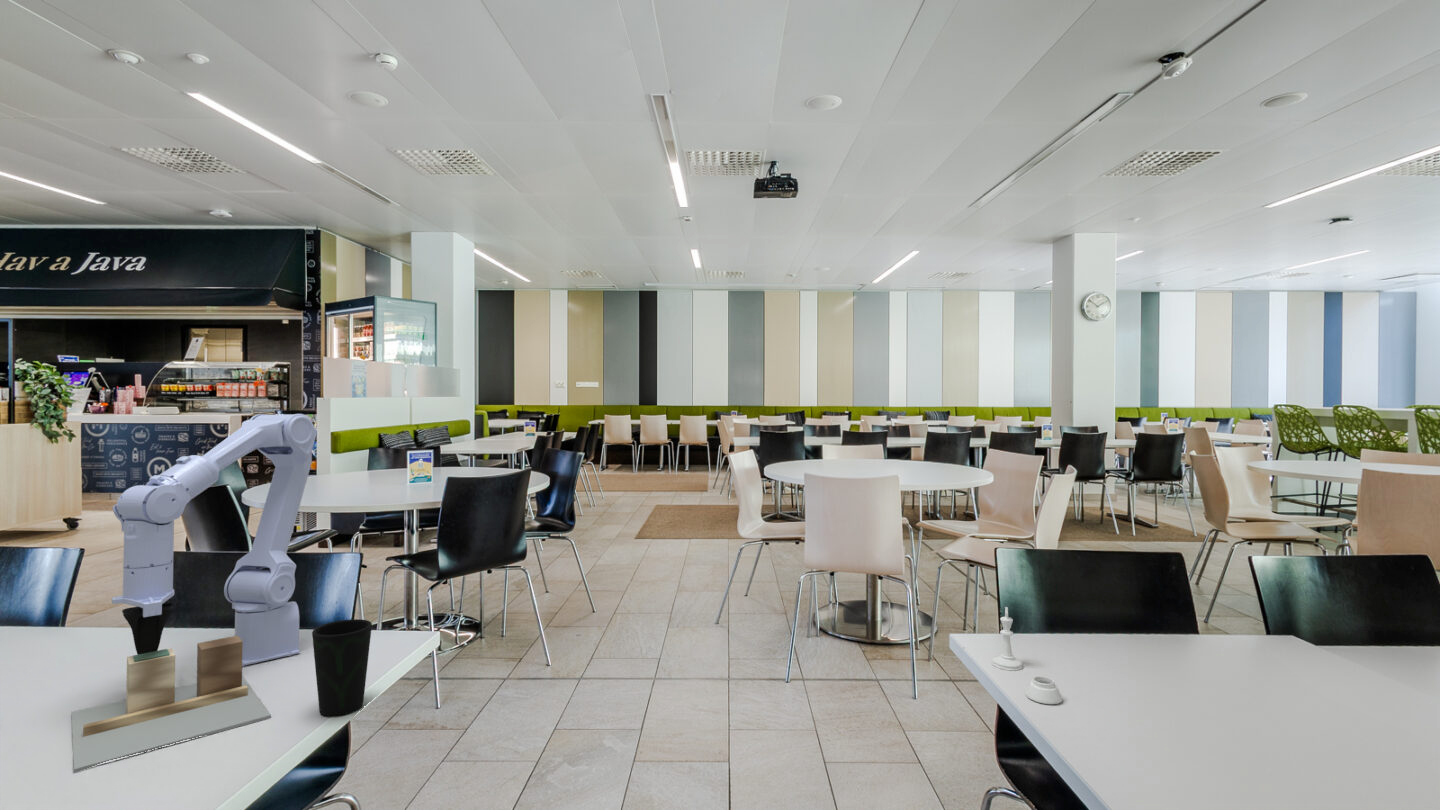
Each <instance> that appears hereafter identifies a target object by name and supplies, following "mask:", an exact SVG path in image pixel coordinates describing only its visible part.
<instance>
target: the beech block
mask: <svg viewBox="0 0 1440 810" xmlns="http://www.w3.org/2000/svg"><path fill="white" fill-rule="evenodd" d="M125 687H126V689H125V691H126V693H125V694H126V695H125V696H126V697H125V699H126V714H130V713H134V712H138V711H142V710H146V709H151V708H155V707H159V706H163V705H167V704H171V703H175V688H176V653H175V652H174V649H173V648H165V649H164V648H163V649H159V650H157V651H154V652H148V653H143V654H133V655H132V656H127V657H126V686H125Z"/></svg>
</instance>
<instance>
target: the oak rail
mask: <svg viewBox="0 0 1440 810" xmlns="http://www.w3.org/2000/svg"><path fill="white" fill-rule="evenodd" d="M247 695H248V687H247V686H246V685H245V686H241V687H237V688H233V689H229V690H225V691H221V692H216V693H212V694H208V695H204V696H200V697H196V698H192V699H188V700H184V701H179V702H175V703H171V704H167V705H163V706H159V707H155V708H151V709H146V710H142V711H138V712H134V713H130V714H126V715H122V716H118V717H114V718H109V719H105V720H101V721H97V722H93V723H89V724H85V725H83V737H85V736H89V735H93V734H97V733H101V732H105V731H109V730H113V729H117V728H120V727H124V726H128V725H132V724H136V723H140V722H144V721H148V720H152V719H156V718H160V717H164V716H168V715H172V714H176V713H180V712H184V711H188V710H192V709H196V708H200V707H204V706H208V705H212V704H215V703H219V702H223V701H227V700H231V699H235V698H239V697H243V696H247Z"/></svg>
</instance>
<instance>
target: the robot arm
mask: <svg viewBox="0 0 1440 810" xmlns="http://www.w3.org/2000/svg"><path fill="white" fill-rule="evenodd" d="M317 434H318V431H317V428H316V427H315V425H314V424H313V422H312V420H311V418H310V417H308V416H307V415H305V414H304V413H295V414H265V413H258V414H255V415H253V416H251V418H249V419H247V420H244V421H242V423H241V426H240V428H238V429H237V430H236V431H234V432H233V433H232V434H231V435H229V436H227V437H226V438H225V439H224V440H222V441H220V443H218V444H217V445H215V446H214V447H212V449H210V450H208V451H207V452H206V453H204V454H203V455H199V454H198V455H196V454H195V455H194V454H191V455H189V456H188V455H187V456H184V455H183V456H179V458H177V459H175V462H176V463H175V464H173V465H172V466H171V467H169V468H167V469H166V470H164V471H163V472H161V473H159V474H157V475H156V474H154V475H152V476H150V478H149V479H148V482H146V484H145V485H143V484H142V485H141V484H140V485H134V486H131V487H128V488H127V489H126V490H124V491H123V492H122V494H120V496H119V497H118V499H117V502H116V504H114V505H113V506H112V511H113V514H114V516H115V517H116V519H117V520H119V522H120V524H121V532H123V565H122V568H123V570H122V595H118V596H117V595H116V596H113V597H112V598H111V604H113V605H116V604H124V605H130V606H133V607H127V608H124V609H122V610H121V612H122V616H123V617H124V619H125V620H126V621H127V623H128V624H129V627H130V628H131V633H132V637H133V643H134V648H135V651H136V655H138V654H143V653H148V652H154V651H159V650H158V649H159V648H160V647H159V646H160V642H161V639H162V634H163V632H164V631H163V630H164V627H165V625H166V623H167V621H168V618H170V615H171V614H172V612H173V611H174V606H173V603H172V601H171V600H169V599H172V597H173V596H175V589H174V550H175V549H174V543H175V542H174V537H175V536H174V535H175V520H177V519H180V517H181V516H182V514H183V513H184V511H185V508H186V505H187V504H188V503H190V501H191V500H192V499H195V497H197V496H199V495H200V494H201V493H203V492H204V491H206V490H207V489H208V488H210V487H211V486H212V485H214V484H215V483H217V482H218V480H219V477H220V474H219V473H220V472H221V471H222V470H224V469H225V468H226V467H229V466H230V465H232V464H233V463H235V462H236V461H238V460H239V459H241V458H243V457H245V456H247V455H248V454H250V453H252V452H253V451H255V450H258V451H259V452H260V453H261V454H262V455H264V456H265V458H267V459H268V460H269V461H270V462H271V463H272V464H273V466H274V467H275V468H274V472H273V475H272V479H271V483H270V486H269V488H268V493H267V496H266V499H265V503H264V505H263V509H262V513H261V516H260V519H259V522H258V526H257V529H256V532H255V537H254V540H253V543H252V546H251V550H250V551H249V552H248V553H246V554H245V555H243V556H242V557H241V558H239V559H238V560H237V561H236V563H235V566H234V569H233V571H232V572H231V573H230V575H228V577H227V579H226V581H225V582H224V583H225V584H224V587H223V594H224V597H225V599H226V600H227V601H228V602H229V603H231V609H232V610H235V612H234V636H237V635H238V637H239V638H240V639H241V640H242V641H243V645H242V667H245V666H249V665H253V664H257V663H261V662H267V661H270V660H275V659H280V658H285V657H289V656H294V655H297V654H300V652H301V650H300V609H299V605H298V604H297V602H296V601H289V600H290V599H291V598H292V596H293V594H294V591H295V588H296V577H295V573H296V569H297V564H296V563H295V562H294V561H293V560H292V559H291V558H290V557H289V556H288V554H287V552H288V550H289V546H290V543H291V538H292V535H293V531H294V529H295V528H294V527H295V524H296V522H297V517H298V513H299V510H300V506H301V502H302V499H303V495H304V492H305V488H306V484H307V481H308V477H309V473H310V470H311V465H312V462H313V461H312V460H313V458H312V451H313V450H314V449H313V448H314V445H315V441H316V438H317ZM267 568H268V569H269V570H268V569H267Z"/></svg>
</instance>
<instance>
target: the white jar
mask: <svg viewBox="0 0 1440 810" xmlns="http://www.w3.org/2000/svg"><path fill="white" fill-rule="evenodd" d="M1024 693H1025V696H1026V698H1028V699H1030V700H1031V701H1033V702H1036V703H1039V704H1041V705H1056V704H1057V705H1058V704H1060V703H1062V701H1063V696H1062V694H1061V692H1060V689H1059V688H1058V686H1057V685H1056V683H1055V680H1053V679H1052V678H1050V677H1047V676H1039V675H1038V676H1037V675H1036V676H1034V677H1032V679H1031V681H1030V682H1029V684H1028V686H1027V688H1026V690H1025V692H1024Z"/></svg>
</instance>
